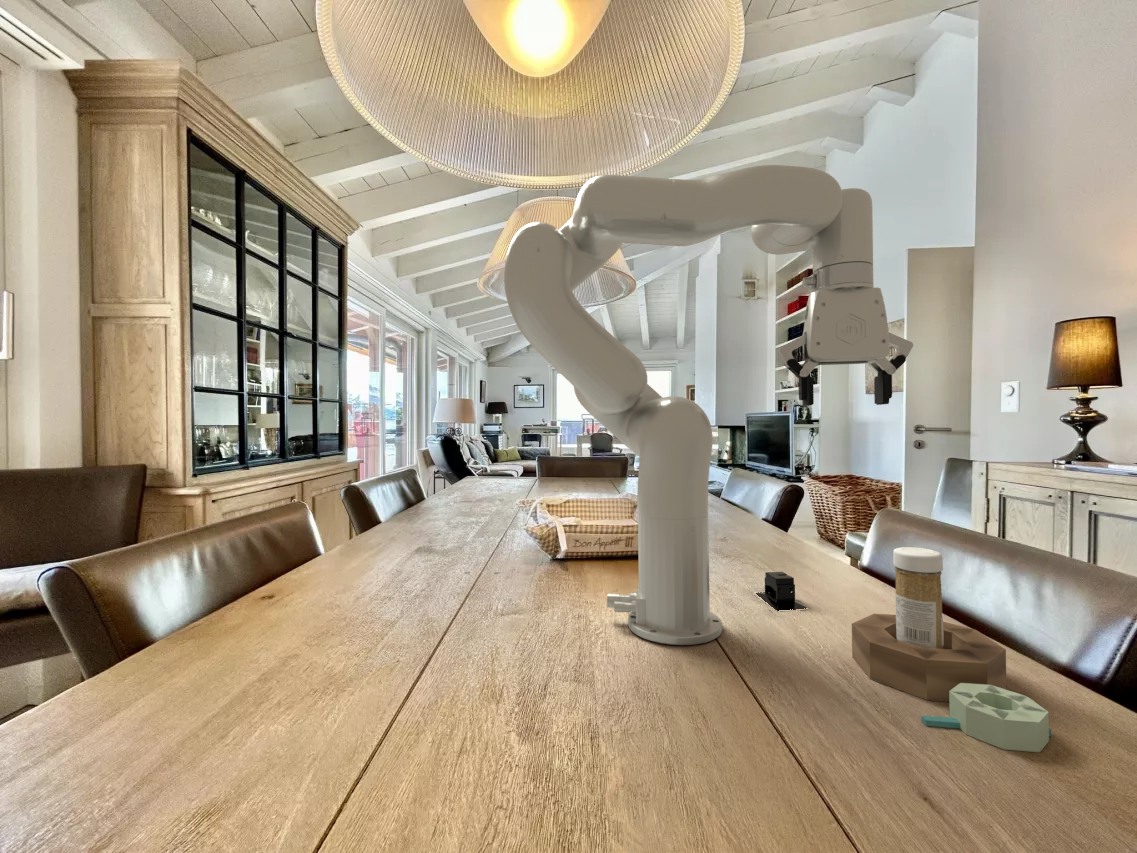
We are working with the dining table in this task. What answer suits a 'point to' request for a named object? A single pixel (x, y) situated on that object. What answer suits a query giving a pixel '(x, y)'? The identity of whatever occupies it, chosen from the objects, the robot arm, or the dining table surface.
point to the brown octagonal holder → (926, 658)
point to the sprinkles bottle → (919, 597)
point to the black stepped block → (780, 592)
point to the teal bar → (946, 722)
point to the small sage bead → (1000, 717)
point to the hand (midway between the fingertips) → (844, 405)
